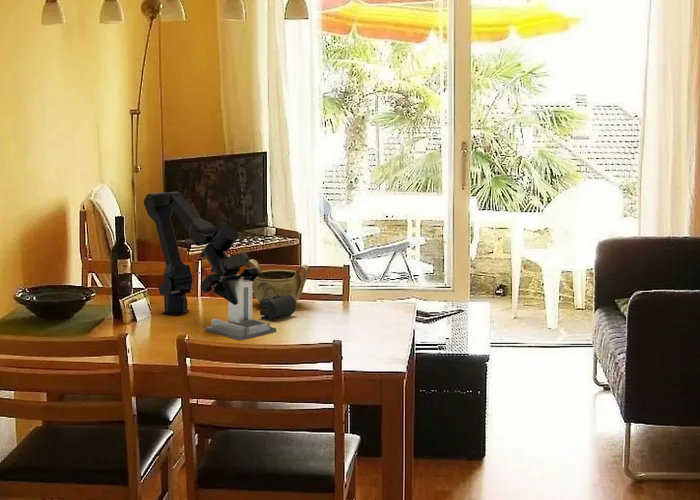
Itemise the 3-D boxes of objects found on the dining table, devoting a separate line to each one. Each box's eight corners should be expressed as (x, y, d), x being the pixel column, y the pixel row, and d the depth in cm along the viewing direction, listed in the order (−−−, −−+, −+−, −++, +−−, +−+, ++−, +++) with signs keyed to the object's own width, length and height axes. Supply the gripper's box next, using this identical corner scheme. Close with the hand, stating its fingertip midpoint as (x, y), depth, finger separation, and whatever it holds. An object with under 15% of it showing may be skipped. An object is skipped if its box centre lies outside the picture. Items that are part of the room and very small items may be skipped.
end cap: (276, 323, 314) (275, 301, 313) (258, 319, 318) (258, 298, 317) (296, 317, 322) (296, 296, 321) (279, 313, 326) (279, 293, 325)
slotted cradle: (205, 330, 304) (205, 320, 304) (241, 322, 314) (241, 312, 314) (239, 340, 293) (239, 330, 293) (276, 331, 303) (276, 321, 303)
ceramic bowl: (235, 309, 332) (234, 263, 329) (259, 298, 347) (258, 255, 344) (297, 315, 323) (297, 269, 321) (319, 304, 339) (319, 260, 336)
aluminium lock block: (228, 323, 303) (228, 280, 301) (240, 321, 307) (241, 278, 305) (239, 326, 300) (239, 283, 297) (252, 324, 303) (252, 281, 301)
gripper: (206, 248, 295) (230, 291, 290) (255, 240, 309) (279, 282, 303) (189, 270, 302) (213, 313, 297) (238, 262, 315) (262, 303, 310)
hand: (243, 302), depth 301 cm, fingers closed on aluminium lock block, 5 cm apart
